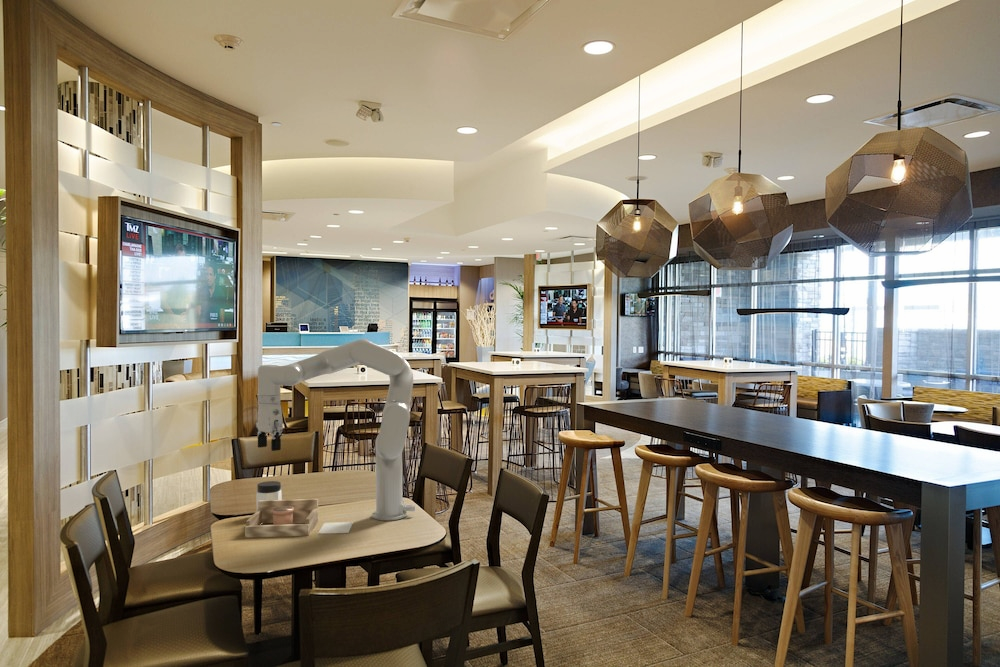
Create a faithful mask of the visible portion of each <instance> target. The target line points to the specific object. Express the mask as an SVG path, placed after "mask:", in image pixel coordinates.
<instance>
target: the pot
mask: <svg viewBox="0 0 1000 667" xmlns="http://www.w3.org/2000/svg"><path fill="white" fill-rule="evenodd" d="M293 512H294V507H292V506H280V507H275V508H273V509H272V514H273V524H272V525H287V524H294V523H293Z"/></svg>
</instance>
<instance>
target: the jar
mask: <svg viewBox="0 0 1000 667" xmlns="http://www.w3.org/2000/svg"><path fill="white" fill-rule="evenodd" d="M256 485H257V486H256V488H257V491H256V494H255V496H256V499H255V500H256V506H255V507H256V511H257V510H258V501H259V500H283V498H282V496H283V495H282V488H281V487H282V484H281V482H280V481H276V480H274V481H273V480H271V481H269V480H268V481H262V482H258V483H257V484H256Z"/></svg>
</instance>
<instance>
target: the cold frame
mask: <svg viewBox="0 0 1000 667" xmlns="http://www.w3.org/2000/svg"><path fill="white" fill-rule="evenodd" d="M280 506H292V507H294V512H293V524H287V525H273V524H261V523H273V514H272V509H273V508H275V507H280ZM318 522H319V498H301V499H300V498H299V499H298V498H296V499H282V500H259V501H258V510H257V509H256V511H255V512H254V513H253V514H252V515H250V517H249V518H248V519H247V520H246V521H245V526H244V538H271V537H272V538H274V537H275V538H276V537H301V536H302V537H303V536H310V534H311V533H312V531H313V530H314V529H315V527H316V526H317V524H318ZM260 524H261V525H260Z"/></svg>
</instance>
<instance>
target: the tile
mask: <svg viewBox="0 0 1000 667" xmlns="http://www.w3.org/2000/svg"><path fill="white" fill-rule="evenodd" d="M353 525H354V521H348V522H347V521H342V522H338V521H337V522H323V525H322V526H321V528H319V531H318V532H317V535H326V534H327V535H328V534H329V535H332V534H349V533H350V531H351V529H352V526H353Z"/></svg>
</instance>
